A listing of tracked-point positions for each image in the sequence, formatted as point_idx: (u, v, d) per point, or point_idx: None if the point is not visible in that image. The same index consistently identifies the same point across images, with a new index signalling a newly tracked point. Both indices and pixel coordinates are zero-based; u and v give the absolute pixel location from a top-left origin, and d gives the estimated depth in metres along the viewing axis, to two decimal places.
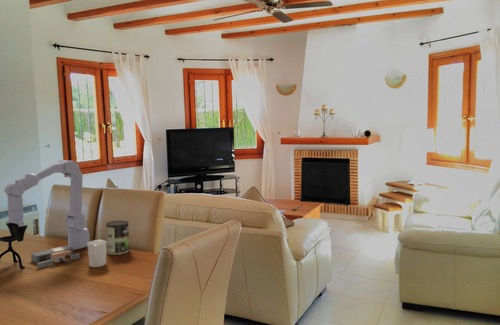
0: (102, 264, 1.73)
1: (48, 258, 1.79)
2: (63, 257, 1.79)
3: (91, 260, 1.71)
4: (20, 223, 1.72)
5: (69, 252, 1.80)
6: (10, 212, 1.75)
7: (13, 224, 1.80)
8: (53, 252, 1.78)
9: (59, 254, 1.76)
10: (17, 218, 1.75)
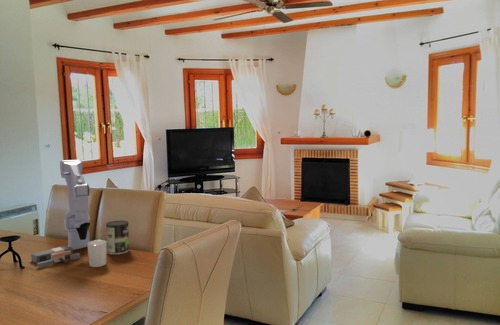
0: (102, 264, 1.73)
1: (48, 258, 1.79)
2: (63, 257, 1.79)
3: (91, 260, 1.71)
4: (75, 224, 1.76)
5: (69, 252, 1.80)
6: (75, 212, 1.82)
7: None
8: (53, 252, 1.78)
9: (59, 254, 1.76)
10: (79, 219, 1.81)
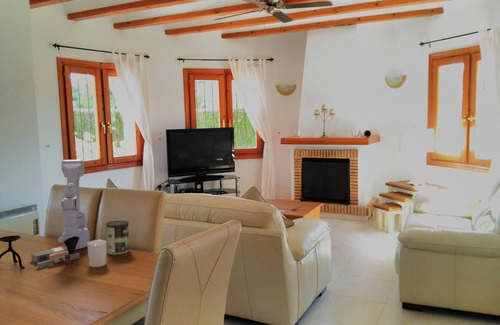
0: (102, 264, 1.73)
1: (48, 258, 1.79)
2: (63, 257, 1.79)
3: (91, 260, 1.71)
4: (59, 239, 1.73)
5: (67, 253, 1.79)
6: None
7: None
8: (53, 252, 1.78)
9: (57, 255, 1.75)
10: (66, 233, 1.77)
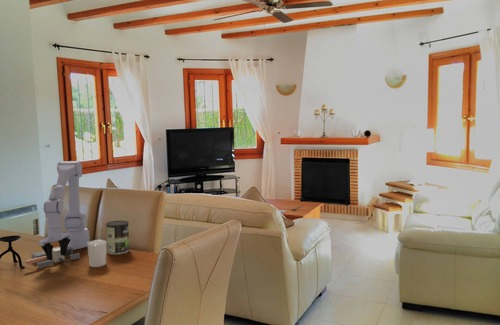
0: (102, 264, 1.73)
1: None
2: (63, 257, 1.80)
3: (91, 260, 1.71)
4: (39, 242, 1.68)
5: (45, 258, 1.72)
6: None
7: (61, 241, 1.77)
8: (53, 252, 1.78)
9: (34, 260, 1.68)
10: (49, 236, 1.72)
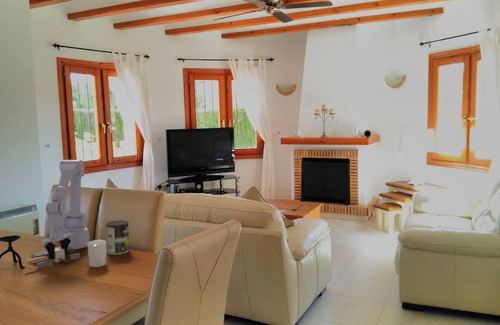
0: (102, 264, 1.73)
1: (48, 258, 1.79)
2: (63, 257, 1.80)
3: (91, 260, 1.71)
4: (41, 242, 1.73)
5: (46, 258, 1.72)
6: None
7: (62, 241, 1.82)
8: None
9: (35, 260, 1.69)
10: (50, 236, 1.77)
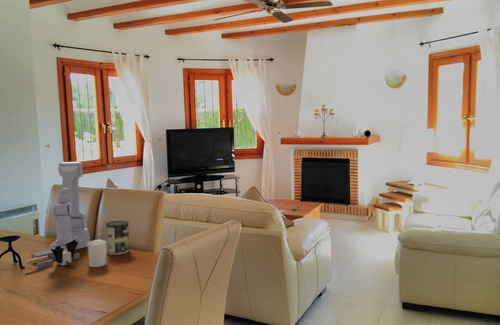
0: (102, 264, 1.73)
1: (48, 258, 1.79)
2: (69, 260, 1.75)
3: (91, 260, 1.71)
4: (50, 245, 1.68)
5: (46, 258, 1.72)
6: None
7: (69, 244, 1.78)
8: None
9: (35, 260, 1.69)
10: (58, 239, 1.72)
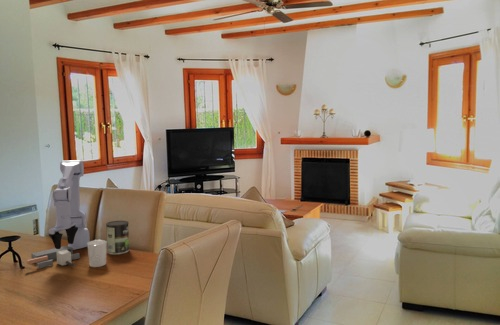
0: (102, 264, 1.73)
1: (48, 258, 1.79)
2: (69, 260, 1.75)
3: (91, 260, 1.71)
4: (50, 230, 1.67)
5: (46, 258, 1.72)
6: None
7: (69, 230, 1.78)
8: (59, 255, 1.74)
9: (35, 260, 1.69)
10: (58, 225, 1.71)
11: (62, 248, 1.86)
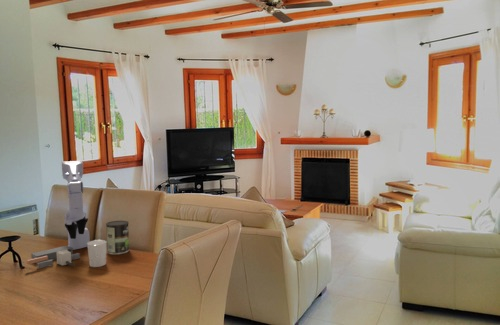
0: (102, 264, 1.73)
1: (48, 258, 1.79)
2: (69, 260, 1.75)
3: (91, 260, 1.71)
4: (67, 221, 1.78)
5: (46, 258, 1.72)
6: (69, 209, 1.83)
7: (80, 221, 1.89)
8: (59, 255, 1.74)
9: (35, 260, 1.69)
10: (72, 216, 1.82)
11: (62, 248, 1.86)
